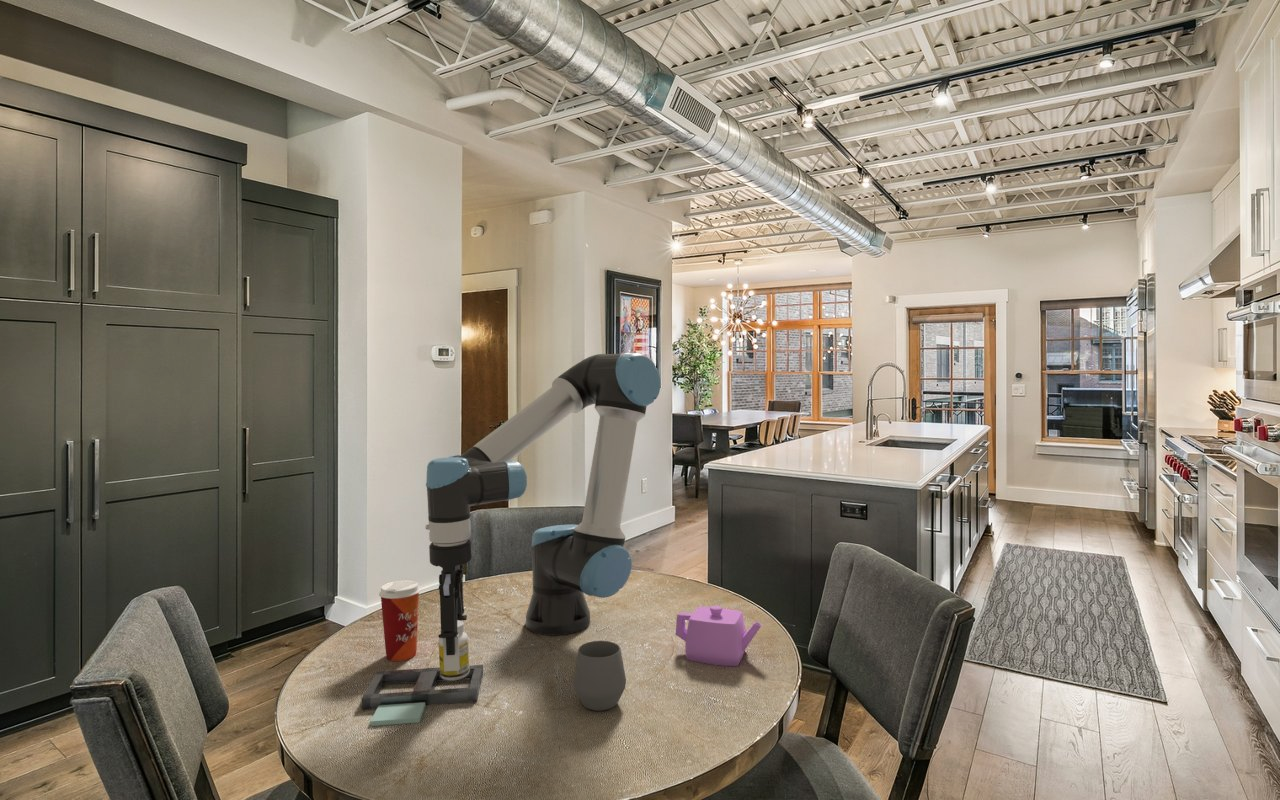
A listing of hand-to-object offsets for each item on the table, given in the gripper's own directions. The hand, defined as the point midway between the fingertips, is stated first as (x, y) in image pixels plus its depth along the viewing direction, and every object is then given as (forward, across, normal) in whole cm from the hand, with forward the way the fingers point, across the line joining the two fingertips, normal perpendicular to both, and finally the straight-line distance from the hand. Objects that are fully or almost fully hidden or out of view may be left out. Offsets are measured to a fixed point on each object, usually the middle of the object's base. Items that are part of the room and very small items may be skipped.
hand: (454, 662), depth 128 cm
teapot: (+6, -7, +53) cm, 53 cm away
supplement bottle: (+3, 0, 0) cm, 3 cm away
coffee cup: (+5, -17, -13) cm, 22 cm away
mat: (+5, +9, -8) cm, 13 cm away
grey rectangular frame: (+5, 0, -5) cm, 7 cm away
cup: (+6, +10, +27) cm, 29 cm away
